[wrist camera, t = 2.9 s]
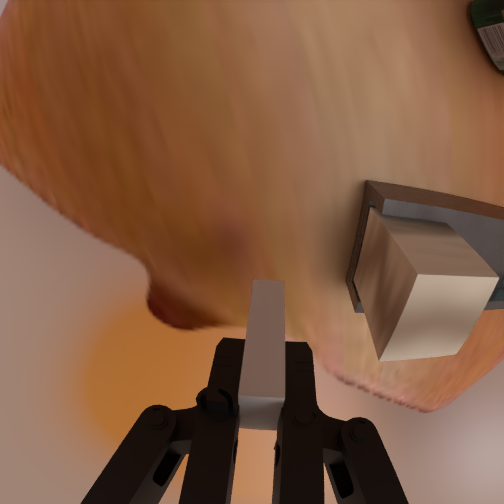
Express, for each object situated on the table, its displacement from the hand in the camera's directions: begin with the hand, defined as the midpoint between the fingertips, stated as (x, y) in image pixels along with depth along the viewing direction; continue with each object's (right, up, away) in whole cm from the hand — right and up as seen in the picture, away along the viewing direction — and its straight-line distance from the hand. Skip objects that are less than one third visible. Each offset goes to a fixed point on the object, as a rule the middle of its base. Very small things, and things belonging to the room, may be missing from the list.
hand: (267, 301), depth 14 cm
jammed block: (+10, +3, +5) cm, 11 cm away
